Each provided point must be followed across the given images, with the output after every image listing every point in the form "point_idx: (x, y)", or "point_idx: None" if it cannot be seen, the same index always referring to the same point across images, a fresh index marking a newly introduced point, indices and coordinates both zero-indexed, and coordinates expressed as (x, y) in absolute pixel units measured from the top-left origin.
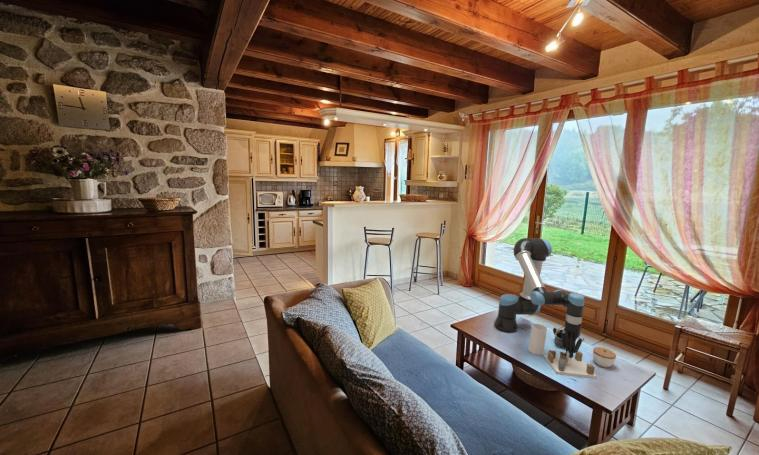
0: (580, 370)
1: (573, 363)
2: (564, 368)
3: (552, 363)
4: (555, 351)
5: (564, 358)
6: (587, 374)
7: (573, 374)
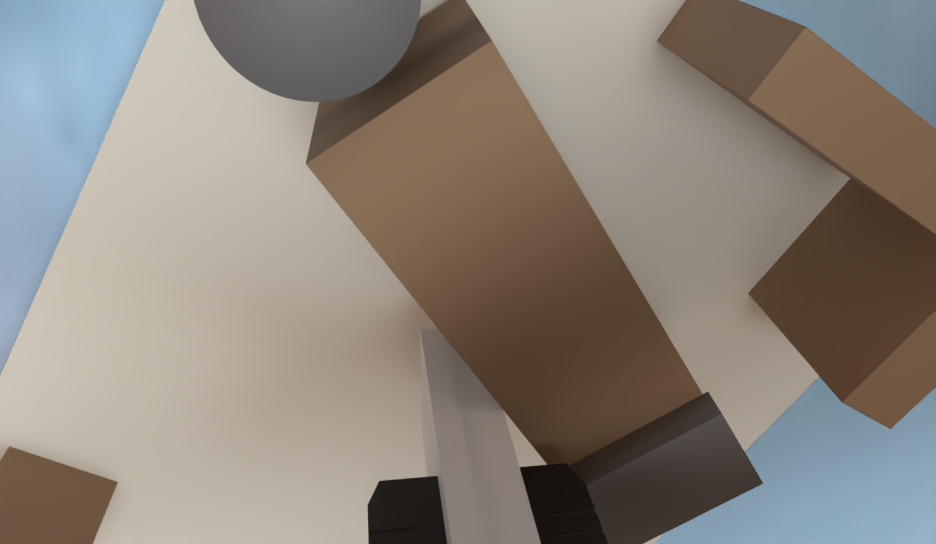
0: (180, 413)
1: None
2: None
3: (658, 8)
4: (868, 403)
5: (490, 325)
6: (6, 425)
7: (108, 145)
